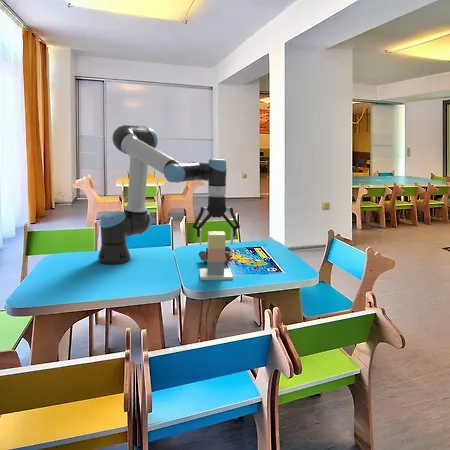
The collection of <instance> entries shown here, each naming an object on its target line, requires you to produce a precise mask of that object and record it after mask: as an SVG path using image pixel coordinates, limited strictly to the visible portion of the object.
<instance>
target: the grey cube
mask: <svg viewBox="0 0 450 450" xmlns="http://www.w3.org/2000/svg"><path fill="white" fill-rule="evenodd" d="M206 261H207V262H206V263H207V264H206V266H207V267H206V268H207V271H208V275H224V268H225V263H224V262H208V257H207V260H206Z"/></svg>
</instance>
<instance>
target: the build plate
mask: <svg viewBox="0 0 450 450" xmlns="http://www.w3.org/2000/svg"><path fill="white" fill-rule="evenodd" d="M198 271H199V280H201V281H203V280H204V281H209V280H210V281H214V280H215V281H216V280H217V281H221V280H222V281H223V280H224V281H225V280H228V281H229V280H232V281H233V280H234V279H233V278H234V276H233V273H232V270H231V268H230V267H228V268H225V267H224V275H208V271H207V267H206V268H205V267H203V268H198Z"/></svg>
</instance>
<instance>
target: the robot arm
mask: <svg viewBox="0 0 450 450" xmlns="http://www.w3.org/2000/svg"><path fill="white" fill-rule="evenodd" d="M111 139H112V142H113V143H112V144H113V145H114V147H115V148H116V149H117V150H118V151H119V152H121V153H123V154H125V155H128V156H129V172H128V191H127V192H128V193H127V204H126V205H125V206H124V208H123V211H121V210H114V211H112V210H111V211H108V212H106V213H105V212H104V213H103V214H102V215H101V217H100V238H101V239H100V241H101V246H100V249H99V253H98V257H97V258H98V259H97V261H98V263H101V264H103V265H119V264H120V265H121V264H125V263H128V262H129V261H131V253H130V251H129V247H128V246H127V245H128V244H127V237H132V236H136V235H141V234H143V233H146V232H148V231H149V230H150V228H151V226H152V220H153V219H152V216H151V213H150V212H149V211H148V210H149V209H148V207H146V196H147V195H146V194H147V192H146V191H147V182H148V181H147V179H148V166H149V167H151V168H153V169H154V170H156V171H158V172H160V173H161V174H163V176H164V178H165V179H166V181H167V182H169V183H177V184H178V183H183V182H191V181H206V182H208V185H207V187H208V188H207V192H208V193H207V195H209V196H207V207H206V206H205V207H204V206H203V205H202V206H200V210H199V211H200V212H199V213H198V215H197V217H196V219H195V221H194V223H193V224H192V228H193V229H195V230H196V236H197V238H199V245H201V246H202V242H203V241H202V234H203V233H202V227H203V226H204V225H205V224H206V223H207V222H208V220H209V219H210V218H219V219H221V218H223V219H224V220H225V221H226V222H227V223H228V225H229V226H230V227H231V228H230V241H229V242H230V245H231V246H233V245H234V238H235V237H236V234H237V233H236V231H237V229H240V228H241V226H240V223H239V222H238V219H237V217H236V215H235V213H234V208H233V207H232V206H228V207H227V204H226V203H227V197H226V193H227V191H226V190H227V170H228V168H227V161H226V160H225V159H224V158H209V159H208V162H207V163H206V162H198V161H191V162H186V163H185V162H183V163H182V162H180V161H178V160H176V159H175V158H172V157H171V156H169V155H167V154H165V153H164V152H162V151H161V150H158V149H157V147H158V143H159V141H158V140H159V139H158V135H157V134H156V132H155V130H154V129H152V127H149V126H145V125H128V124H124V125H121V126H118V127H117V128H115V130H114V132H113V133H112V138H111ZM206 211H207V212H208V214H206V216H205V217H204V218H203V220H202V221H200V220H201V218H202V216H203V214H204V213H205V212H206ZM226 212H228V213H230V216H231V217H232V220H233V222H234V223H233V222H232V221H231V220H230V219H229V218H228V216H227V215H226V214H225V213H226ZM234 224H235V225H234Z"/></svg>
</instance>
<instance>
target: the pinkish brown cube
mask: <svg viewBox="0 0 450 450" xmlns="http://www.w3.org/2000/svg"><path fill="white" fill-rule="evenodd" d="M207 248H208V262H225V249H209V247H208V246H207Z"/></svg>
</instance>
